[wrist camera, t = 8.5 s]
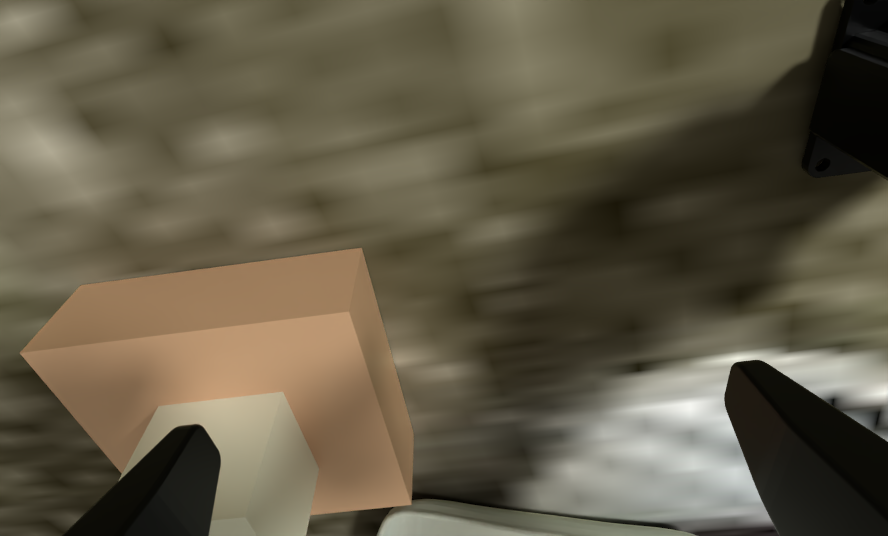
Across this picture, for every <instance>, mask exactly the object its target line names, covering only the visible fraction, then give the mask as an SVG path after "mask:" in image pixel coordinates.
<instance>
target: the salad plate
mask: <svg viewBox="0 0 888 536" xmlns="http://www.w3.org/2000/svg"><path fill="white" fill-rule="evenodd" d="M377 536H697V535H693V534H690V533H687V532H682V531H677V530H672V529H666V528H659V527H649V526H638V525H628V524H618V523H609V522H601V521H594V520H587V519H579V518H572V517H565V516H557V515H549V514H540V513H531V512H523V511H515V510H507V509H499V508H492V507H485V506H478V505H472V504H466V503H460V502H454V501H448V500H437V499H418V500H412V505H406V506H396V507H394V508H393V509H391V510H390V511H389V513H388V514H387V515H386V517H385V518H384V520H383V522H382V524H381V526H380V528H379V531H378V534H377Z"/></svg>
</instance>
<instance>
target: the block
mask: <svg viewBox="0 0 888 536" xmlns="http://www.w3.org/2000/svg"><path fill="white" fill-rule="evenodd" d="M190 424H200V425H202V426H203V427H204V428H205V430H206V431H207V433H208V434H209V436H210V438H211V439H212V441H213V442H214V444H215V445H216V447H217V448H218V450H219V453H220V456H221V467H220V473H219V479H218V484H217V490H216V496H215V502H214V508H213V514H212V519H211V525H210V531H209V536H306V533H307V528H308V523H309V518H310V513H311V508H312V502H313V497H314V492H315V487H316V482H317V477H318V472H319V467H318V465H317V463H316V461H315V459H314V457H313V454H312V452H311V450H310V448H309V446H308V444H307V442H306V440H305V438H304V435H303V433H302V431H301V429H300V427H299V425H298V423H297V421H296V418H295V416H294V414H293V412H292V410H291V408H290V406H289V404H288V402H287V399H286V397H285V395H284V393H283V392H276V393H267V394H258V395H250V396H241V397H233V398H224V399H215V400H207V401H198V402H189V403H181V404H172V405H164V406H158V408H157V410H156V412H155V413H154V415H153V417H152V419H151V421H150V423H149V425H148V426H147V428H146V430H145V432H144V434H143V436H142V438H141V440H140V441H139V443H138V445H137V447H136V449H135V451H134V453H133V454H132V456H131V458H130V460H129V462H128V464H127V466H126V468H125V469H124V471H123V473H122V475H121V477H120V479H121V478H122V477H124V476H125V475H126V474H127V473H128V472H129V471H130V470H131V469H132V468H133V467H134V466H135V465H136V464H137V463H138V462H139V461H140V460H141V459H142V458H143V457H144V456H145V455H146V454H147V453H148V452H149V451H150V450H151V449H153V448H154V447H155V446H156V445H157V444H158V443H159V442H160V441H161V440H162V439H163V438H164V437H165V436H166V435H167V434H168V433H169V432H170V431H171V430H172V429H174V428H175V427H178V426H182V425H190ZM120 479H119V480H120Z"/></svg>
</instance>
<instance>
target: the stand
mask: <svg viewBox="0 0 888 536" xmlns="http://www.w3.org/2000/svg"><path fill="white" fill-rule="evenodd" d="M20 354H21V355H22V356H23V358H24V359H25V360H26V361H27V362H28V363H29V365H30V366H31V367H32V368H33V369H34V371H35V372H36V373H37V374H38V375H39V377H40V378H41V379H42V380H43V381H44V382H45V384H46V385H47V386H48V387H49V388H50V390H51V391H52V392H53V393H54V394H55V395H56V397H57V398H58V399H59V400H60V401H61V403H62V404H63V405H64V406H65V407H66V408H67V410H68V411H69V412H70V413H71V414H72V416H73V417H74V418H75V419H76V420H77V421H78V423H79V424H80V425H81V426H82V427H83V429H84V430H85V431H86V432H87V433H88V434H89V436H90V437H91V438H92V439H93V440H94V442H95V443H96V444H97V445H98V446H99V447H100V449H101V450H102V451H103V452H104V453H105V455H106V456H107V457H108V458H109V459H110V460H111V462H112V463H113V464H114V465H115V466H116V468H117V469H118V470H119V471H120V472H121V473H123V471H124V469H125V468H126V466H127V464H128V462H129V460H130V458H131V456H132V454H133V453H134V451H135V449H136V447H137V445H138V443H139V441H140V440H141V438H142V436H143V434H144V432H145V430H146V428H147V426H148V425H149V423H150V421H151V419H152V417H153V415H154V413H155V412H156V410H157V408H158V406H164V405H172V404H181V403H189V402H198V401H207V400H215V399H224V398H233V397H241V396H250V395H258V394H267V393H276V392H283V393H284V395H285V397H286V399H287V402H288V404H289V406H290V408H291V410H292V412H293V414H294V416H295V418H296V421H297V423H298V425H299V427H300V429H301V431H302V433H303V435H304V438H305V440H306V442H307V444H308V446H309V448H310V450H311V452H312V454H313V457H314V459H315V461H316V463H317V465H318V467H319V472H318V477H317V482H316V487H315V492H314V497H313V502H312V508H311V513H310V515H316V514H326V513H336V512H346V511H356V510H366V509H376V508H386V507H396V506H406V505H412V479H413V447H414V433H413V429H412V426H411V422H410V418H409V415H408V411H407V408H406V404H405V401H404V397H403V393H402V390H401V386H400V383H399V379H398V376H397V372H396V368H395V365H394V361H393V358H392V354H391V351H390V347H389V344H388V340H387V336H386V333H385V329H384V326H383V322H382V319H381V315H380V311H379V308H378V304H377V301H376V297H375V294H374V290H373V286H372V283H371V279H370V276H369V272H368V269H367V265H366V261H365V258H364V254H363V251H362V248H356V249H349V250H341V251H334V252H326V253H319V254H311V255H304V256H296V257H289V258H281V259H274V260H266V261H259V262H251V263H244V264H236V265H229V266H221V267H214V268H206V269H199V270H191V271H184V272H176V273H169V274H161V275H154V276H146V277H139V278H131V279H124V280H116V281H109V282H101V283H94V284H86V285H80V287H79V288H78V289H77V290H76V291H75V292H74V293H73V294H72V295H71V297H70V298H69V299H68V300H67V301H66V302H65V303H64V304H63V305H62V307H61V308H60V309H59V310H58V311H57V312H56V313H55V314H54V315H53V317H52V318H51V319H50V320H49V321H48V322H47V323H46V324H45V325H44V327H43V328H42V329H41V330H40V331H39V332H38V333H37V334H36V335H35V336H34V338H33V339H32V340H31V341H30V342H29V343H28V344H27V345H26V346H25V348H24V349H23V350H22V351H21V352H20Z"/></svg>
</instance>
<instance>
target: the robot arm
mask: <svg viewBox="0 0 888 536" xmlns="http://www.w3.org/2000/svg"><path fill="white" fill-rule="evenodd" d="M821 159H824V160H823V161H822V163H821V164H820V165H818V166H816V164H817V162H819V161H820V160H821ZM815 166H816V167H815ZM802 168H803V170H804V171H805V172H806V173H808V174H809V175H810V176H812V177H815V178H820V177H828V176H835V175H843V174H850V173H857V172H865V171H873V172H875V173H877V174H878V175H880V176H881V177H883V178H885V179H886V180H888V0H866V1H865V2H863V0H845V3H844V7H843V11H842V14H841V18H840V22H839V26H838V29H837V33H836V37H835V41H834V44H833V48H832V52H831V55H830V56H829V58H828V60H827V64H826V67H825V71H824V75H823V79H822V82H821V86H820V90H819V94H818V98H817V101H816V105H815V109H814V113H813V116H812V120H811V124H810V134H809V138H808V142H807V145H806V149H805V153H804V157H803V160H802ZM724 401H725V407H726V410H727V413H728V415H729V418H730V421H731V423H732V426H733V428H734V431H735V434H736V436H737V439H738V441H739V444H740V447H741V449H742V452H743V454H744V457H745V460H746V462H747V465H748V467H749V470H750V473H751V475H752V478H753V480H754V483H755V485H756V488H757V490H758V493H759V495H760V497H761V500H762V502H763V504H764V506H765V508H766V510H767V512H768V514H769V516H770V518H771V520H772V522H773V524H774V526H775V528H776V530H777V532H778V534H779V536H888V442H887V441H886V440H884V439H883V438H881V437H880V436H878V435H876V434H875V433H873V432H872V431H870V430H869V429H867V428H866V427H864V426H863V425H861V424H860V423H858V422H856V421H855V420H853V419H852V418H850V417H849V416H847V415H846V414H844V413H843V412H841V411H840V410H838V409H836V408H835V407H833V406H832V405H830V404H829V403H827V402H826V401H824V400H823V399H821V398H819V397H818V396H816V395H815V394H813V393H812V392H810V391H809V390H807V389H806V388H804V387H803V386H801V385H799V384H798V383H796V382H795V381H793V380H792V379H790V378H789V377H787V376H786V375H784V374H782V373H781V372H779V371H778V370H776V369H775V368H773V367H772V366H770V365H769V364H767V363H765V362H763V361H760V360H751V361H743V362H736V363H734V364H733V366H732V367H731V370H730V374H729V379H728V383H727V387H726V391H725V397H724ZM220 467H221V456H220V453H219V450H218V448H217V447H216V445H215V444H214V442H213V441H212V439H211V438H210V436H209V434H208V433H207V431H206V430H205V428H204V427H203V426H202V425H200V424H190V425H182V426H178V427H175V428H174V429H172V430H171V431H170V432H169V433H168V434H167V435H166V436H165V437H164V438H163V439H162V440H161V441H160V442H159V443H158V444H157V445H156V446H155V447H154V448H153V449H151V450H150V451H149V452H148V453H147V454H146V455H145V456H144V457H143V458H142V459H141V460H140V461H139V462H138V463H137V464H136V465H135V466H134V467H133V468H132V469H131V470H130V471H129V472H128V473H127V474H126V475H125V476H124V477H122V478H121V479H120V480H119V481H118V482H117V483H116V484H115V485H114V486H113V487H112V488H111V489H110V490H109V491H108V492H107V493H106V494H105V495H104V496H103V497H102V498H101V499H100V500H99V501H98V502H97V503H96V504H95V505H93V506H92V507H91V508H90V509H89V510H88V511H87V512H86V513H85V514H84V515H83V516H82V517H81V518H80V519H79V520H78V521H77V522H76V523H75V524H74V525H73V526H72V527H71V528H70V529H69V530H68V531H67V532H66V533H64V534H63V535H62V536H209V531H210V525H211V519H212V514H213V508H214V502H215V496H216V490H217V484H218V479H219V473H220Z"/></svg>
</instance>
